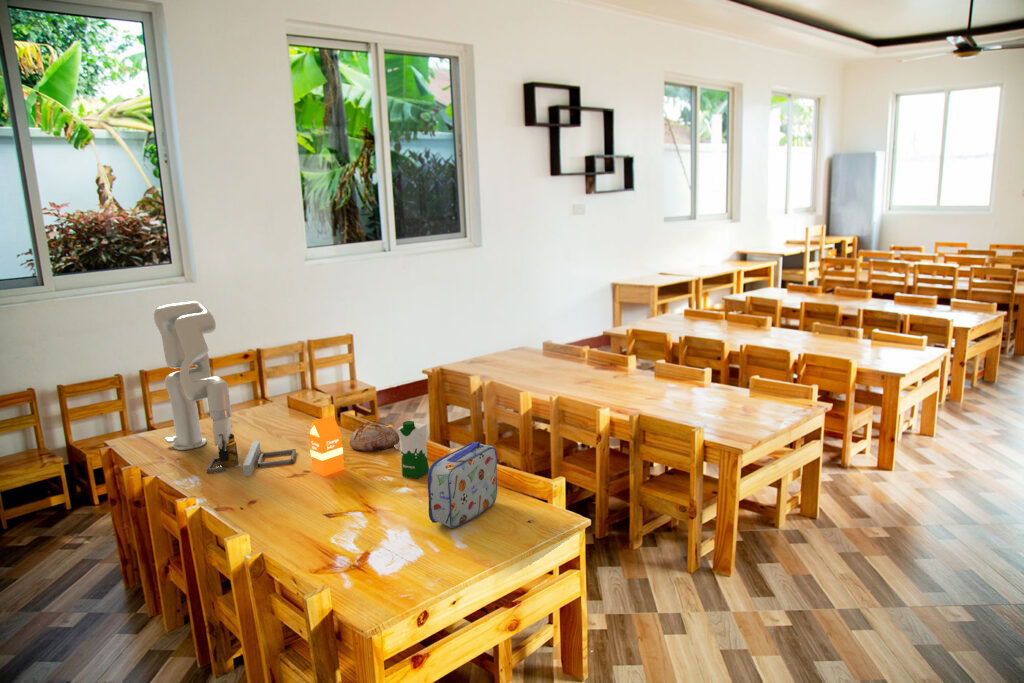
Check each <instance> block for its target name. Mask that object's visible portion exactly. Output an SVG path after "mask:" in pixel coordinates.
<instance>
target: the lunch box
mask: <svg viewBox="0 0 1024 683" xmlns="http://www.w3.org/2000/svg"><path fill="white" fill-rule="evenodd" d="M497 466H498V454H497V449H496V448H495V446H493V445H487V444H483V443H481V442H480V441H476V442H475V441H473V442H470V443H467V444H466V445H464V446H463V447H461V448H459V449H457V450H455V451H451V452H450V453H448V454H446V455H444V456H442V457H440V458H439V459H437V460H435V461H434V462H433V463H432V464H431V466H429V471H428V473H427V494H428V495H427V496H428V498H427V499H428V517H429V520H430V521H431V522H432V523H433V524H437V523H439V524H440V525H441V524H442V525H444V526H446V527H448V528H451V529H455V528H457V527H459V526H461V525H463V524H465V523H467V522H468V521H470V520H472V519H474V518H477V517H479V516H480V515H481V514H482V513H483V512H485V511H486V510H488V509H489V508H491V507H492V506H493V505H494V504H495V502H496V499H497V494H498V475H497V474H498V472H497V469H498V467H497Z"/></svg>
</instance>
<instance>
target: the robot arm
mask: <svg viewBox="0 0 1024 683" xmlns="http://www.w3.org/2000/svg"><path fill="white" fill-rule="evenodd" d="M153 319H154V323H155V325H156V327H157V329H158V331H159V333H160V336H161V340H162V346H163V354H164V357H165V362H166V365H167V366H168V368H170V369H180V370H177V371H173V372H171V373H169V374H168V375H166V377H165V379H164V384H165V388H166V391H167V394H168V397H169V402H170V406H171V413H172V419H173V425H174V432H175V435H174V436H173V437H171V436H169V437H165V438H164V440H165V443H167V444H171V443H173V445H172V448H173V449H175V450H177V451H185V450H193V449H197V448H200V447H202V446H204V445H206V443H207V438H205V437H202V431H201V423H200V418H199V417H200V416H199V409H198V403H197V401H201V400H204V399H207V403H208V409H209V410H208V411H209V417H210V418H209V419H210V420H212V431H213V432H212V433H213V442H214V443H213V444H214V445H215V446H216V447H217V446H218V447H217V448H218V449H217V452H218V458H219V460H220V462H219V463H222V462H223V461H229V456H228V450H227V444H228V443H229V437H230V435H231V434H233V431H232V424H231V417H232V416H233V413H232V407H231V406H232V405H231V398H230V391H229V385H228V382H227V381H226V380H224V379H223V378H222V377H220V376H218V375H214V376H212V372H211V367H210V358H209V348H208V345H207V343H206V339H205V336H204V335H205V334H210V333H213V332H215V330H216V326H217V324H216V320H215V318H214V316H213V314H212V313H211V312H210V311H209V310H208V309H207V308H206V307H205V306H204V305H203V304H202V303H201V302H200V301H196V300H193V301H186V302H178V303H177V302H176V303H170V304H165V305H160V306H159V307H157V308H155V309H154V312H153ZM191 366H195V367H192V368H191ZM222 442H225V443H222ZM223 445H225V448H224V446H223Z"/></svg>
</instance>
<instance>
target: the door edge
mask: <svg viewBox="0 0 1024 683" xmlns="http://www.w3.org/2000/svg"><path fill="white" fill-rule="evenodd" d="M261 450H262V449H261V443H260V441H259V440H258V441H252V443H251V446H250V448H249V451H248V453H247V456H246V458H245V460H244V462H243V464H242V469H243V470H242V471H243V476H244V477H247V476H252V474H253V472H254V469H255V466H256V465H257V462H258V460H259V457H260V454H261Z"/></svg>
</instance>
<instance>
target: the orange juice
mask: <svg viewBox="0 0 1024 683" xmlns="http://www.w3.org/2000/svg"><path fill="white" fill-rule="evenodd" d="M341 432H342V431H341V430H340V428H339V426H338V423H337V420H336V418H335V416H334V415H329V416H326V417H323V418H319V419H316V420H313V421H312V423H311V426H310V429H309V432H308V439H309V448H310V449H309V450H310V451H309V453H310V459H311V466H312V467H311V468H312V472H314V473H315V474H317V475H320V476H322V477H327V476H329V475H331V474H335V473H338V472H340V471H343V470H344V469H345V459H344V450H343V442H342V441H343V440H342V433H341Z"/></svg>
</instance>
